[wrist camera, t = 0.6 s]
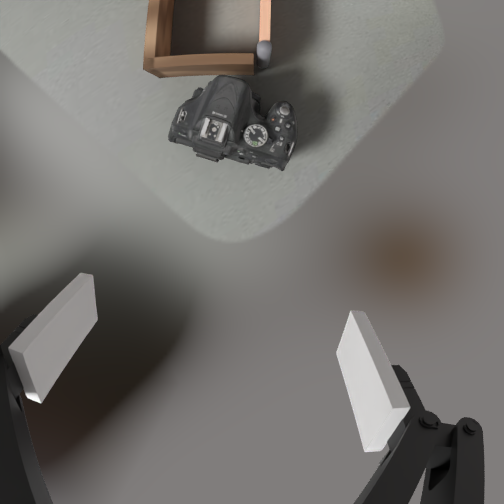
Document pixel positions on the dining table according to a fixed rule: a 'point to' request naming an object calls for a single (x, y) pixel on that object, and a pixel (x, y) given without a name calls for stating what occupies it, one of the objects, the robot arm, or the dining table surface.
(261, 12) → the hatch
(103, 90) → the dining table surface
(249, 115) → the camera
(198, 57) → the frame
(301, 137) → the dining table surface
